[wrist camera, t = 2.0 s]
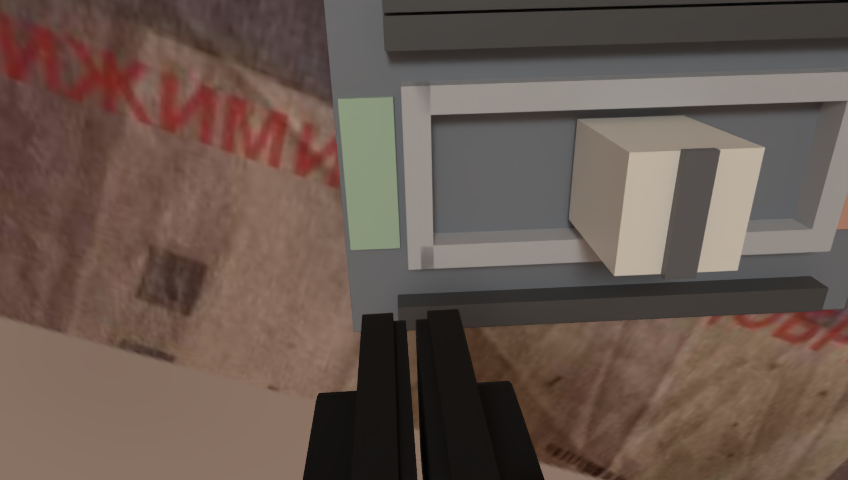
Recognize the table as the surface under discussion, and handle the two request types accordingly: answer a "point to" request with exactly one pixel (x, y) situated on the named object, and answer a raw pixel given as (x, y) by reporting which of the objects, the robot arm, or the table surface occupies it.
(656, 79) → the panel
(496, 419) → the robot arm
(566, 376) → the table surface
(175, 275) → the table surface
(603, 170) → the toggle
